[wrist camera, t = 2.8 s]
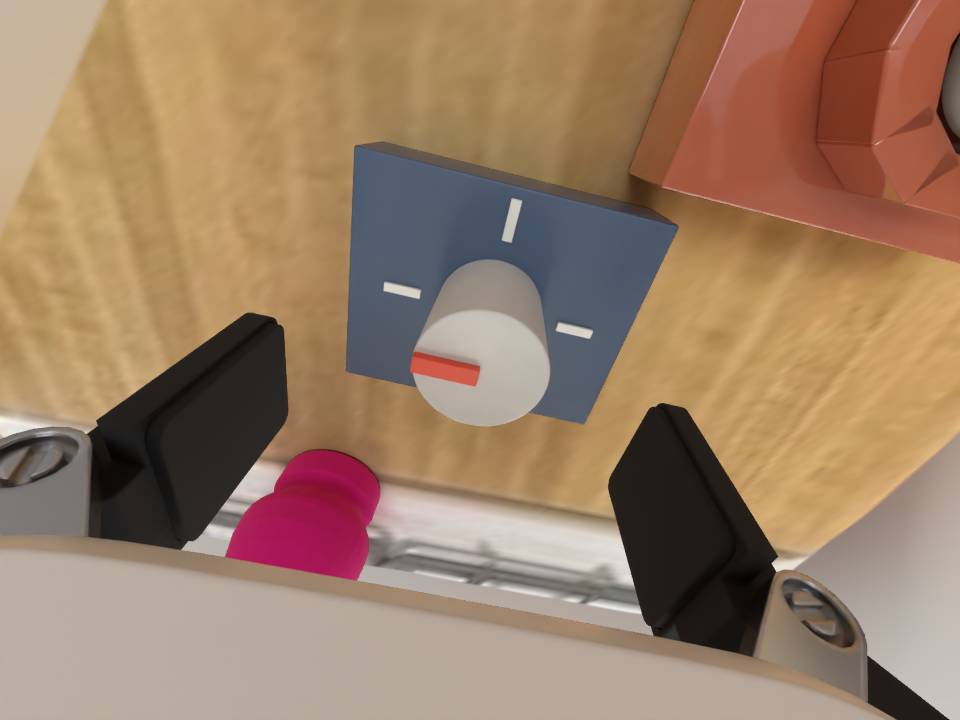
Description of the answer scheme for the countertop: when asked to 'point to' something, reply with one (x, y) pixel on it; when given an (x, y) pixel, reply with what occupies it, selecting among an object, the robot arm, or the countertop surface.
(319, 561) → the pepper mill
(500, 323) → the grey dial knob
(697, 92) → the orange button housing
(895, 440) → the countertop surface
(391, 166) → the tap panel
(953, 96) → the push button
